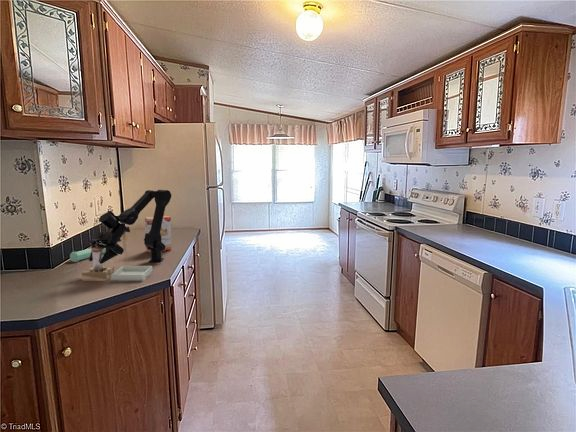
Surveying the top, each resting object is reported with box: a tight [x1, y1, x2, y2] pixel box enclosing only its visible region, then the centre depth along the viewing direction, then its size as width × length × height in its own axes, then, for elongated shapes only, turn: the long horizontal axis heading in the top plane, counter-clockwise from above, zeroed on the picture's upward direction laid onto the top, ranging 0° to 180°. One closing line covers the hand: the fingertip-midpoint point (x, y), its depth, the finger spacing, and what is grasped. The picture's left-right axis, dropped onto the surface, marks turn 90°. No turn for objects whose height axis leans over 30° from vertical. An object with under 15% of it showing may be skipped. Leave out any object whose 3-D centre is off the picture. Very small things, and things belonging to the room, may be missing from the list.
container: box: [69, 247, 106, 263], centre depth 199 cm, size 6×6×25 cm
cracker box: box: [144, 215, 172, 254], centre depth 212 cm, size 14×6×21 cm, turn 126°
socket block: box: [81, 266, 115, 282], centre depth 163 cm, size 10×10×4 cm
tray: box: [110, 265, 153, 282], centre depth 165 cm, size 14×14×3 cm
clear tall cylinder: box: [91, 247, 104, 272], centre depth 162 cm, size 5×5×14 cm
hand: (94, 262), depth 161 cm, fingers open, 8 cm apart
